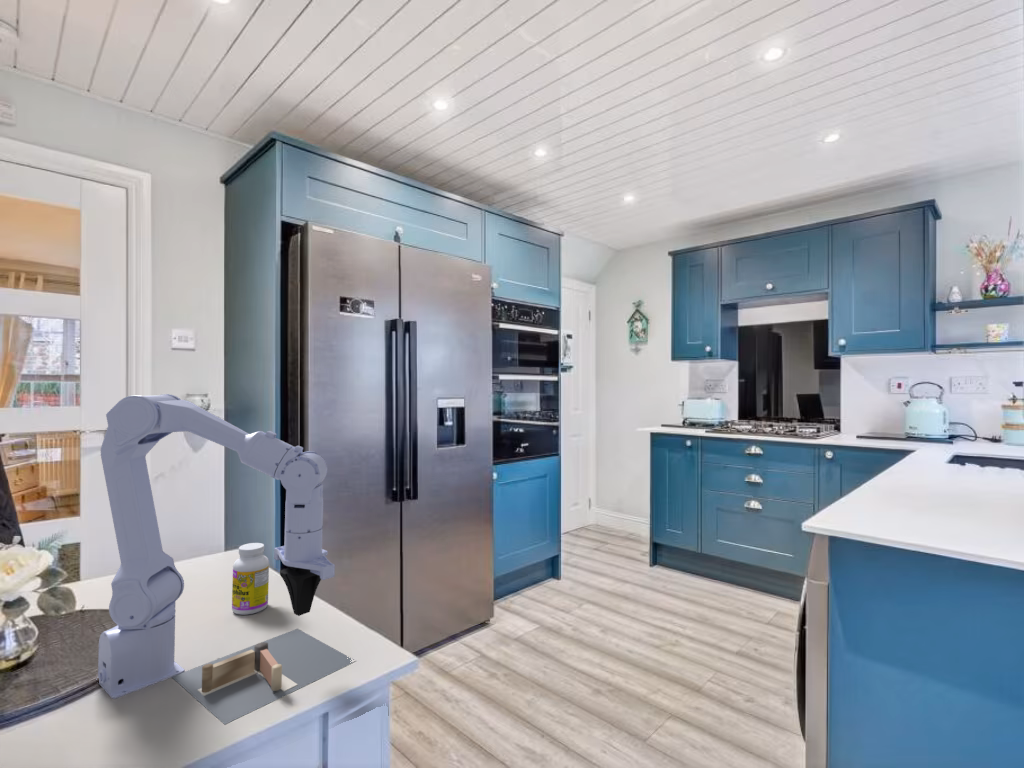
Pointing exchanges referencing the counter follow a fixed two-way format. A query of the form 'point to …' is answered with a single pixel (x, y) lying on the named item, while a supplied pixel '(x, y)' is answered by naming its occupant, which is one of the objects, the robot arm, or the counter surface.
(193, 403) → the robot arm
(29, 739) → the counter surface
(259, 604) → the supplement bottle
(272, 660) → the pink slab
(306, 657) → the board
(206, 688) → the base
